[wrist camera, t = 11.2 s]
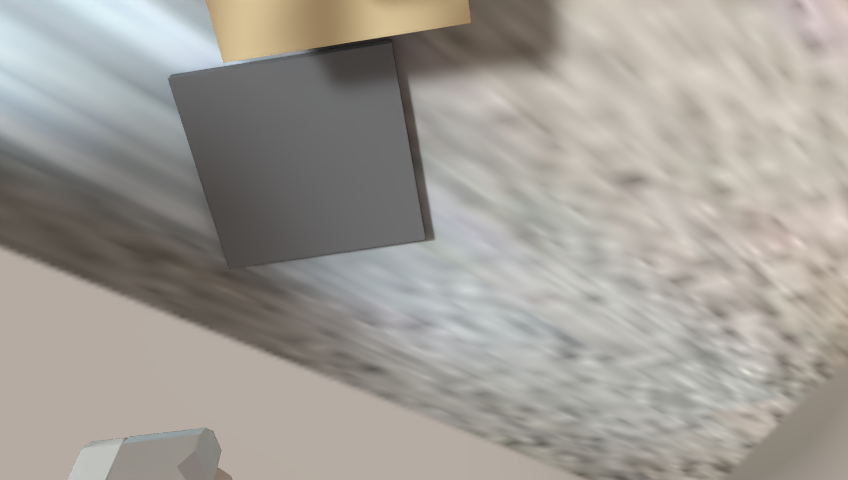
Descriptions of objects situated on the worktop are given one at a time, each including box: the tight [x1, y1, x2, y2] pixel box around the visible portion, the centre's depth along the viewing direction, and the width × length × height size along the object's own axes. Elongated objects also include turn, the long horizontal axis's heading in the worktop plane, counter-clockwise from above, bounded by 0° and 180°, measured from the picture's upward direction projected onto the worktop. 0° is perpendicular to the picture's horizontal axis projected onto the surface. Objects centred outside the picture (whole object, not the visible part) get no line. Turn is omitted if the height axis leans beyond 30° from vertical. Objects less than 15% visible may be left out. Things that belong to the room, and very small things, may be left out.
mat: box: [168, 40, 425, 269], centre depth 42 cm, size 11×11×1 cm
